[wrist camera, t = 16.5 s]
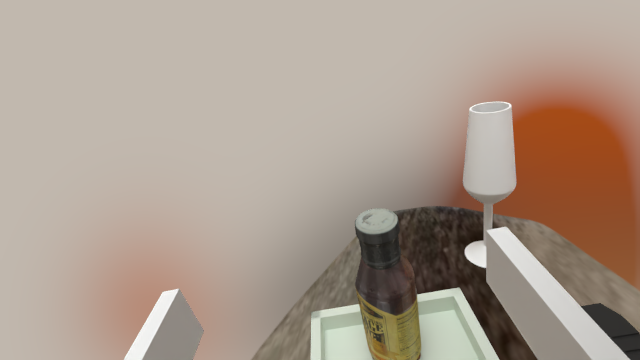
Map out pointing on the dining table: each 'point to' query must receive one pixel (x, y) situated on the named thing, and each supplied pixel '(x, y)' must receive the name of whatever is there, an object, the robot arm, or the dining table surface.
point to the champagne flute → (488, 164)
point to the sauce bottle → (386, 289)
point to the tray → (435, 330)
